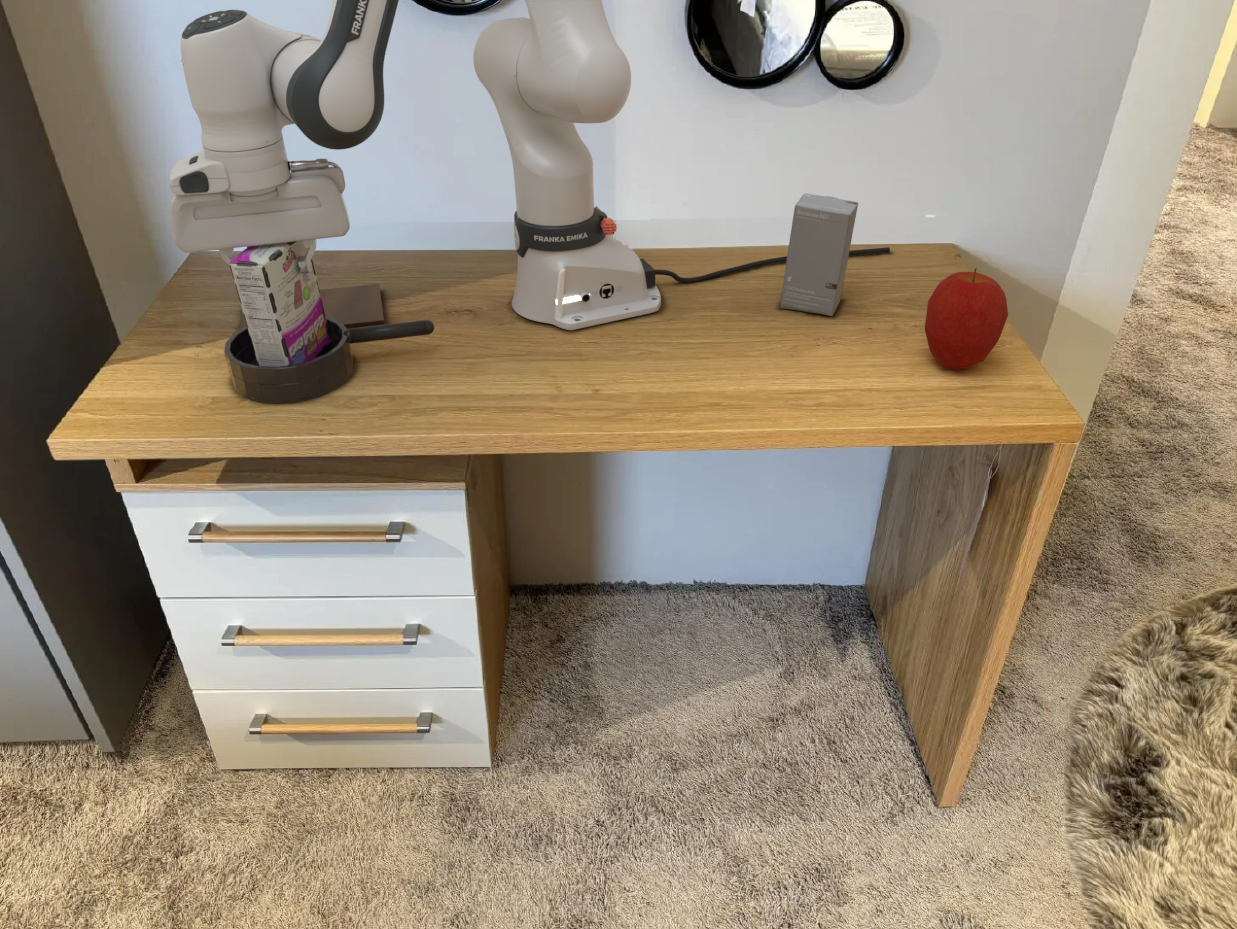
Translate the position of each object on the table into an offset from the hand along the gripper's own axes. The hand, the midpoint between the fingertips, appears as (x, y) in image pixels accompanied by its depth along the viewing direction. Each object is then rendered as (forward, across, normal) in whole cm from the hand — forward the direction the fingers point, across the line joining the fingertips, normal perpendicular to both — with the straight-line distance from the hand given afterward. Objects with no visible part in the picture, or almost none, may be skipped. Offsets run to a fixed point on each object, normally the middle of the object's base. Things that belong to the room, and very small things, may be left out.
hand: (275, 275), depth 120 cm
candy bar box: (+12, 0, 0) cm, 12 cm away
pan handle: (+11, -13, 0) cm, 16 cm away
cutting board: (+14, -2, -16) cm, 22 cm away
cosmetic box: (+15, -75, -2) cm, 76 cm away
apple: (+15, -86, +20) cm, 90 cm away
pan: (+14, 0, 0) cm, 14 cm away
